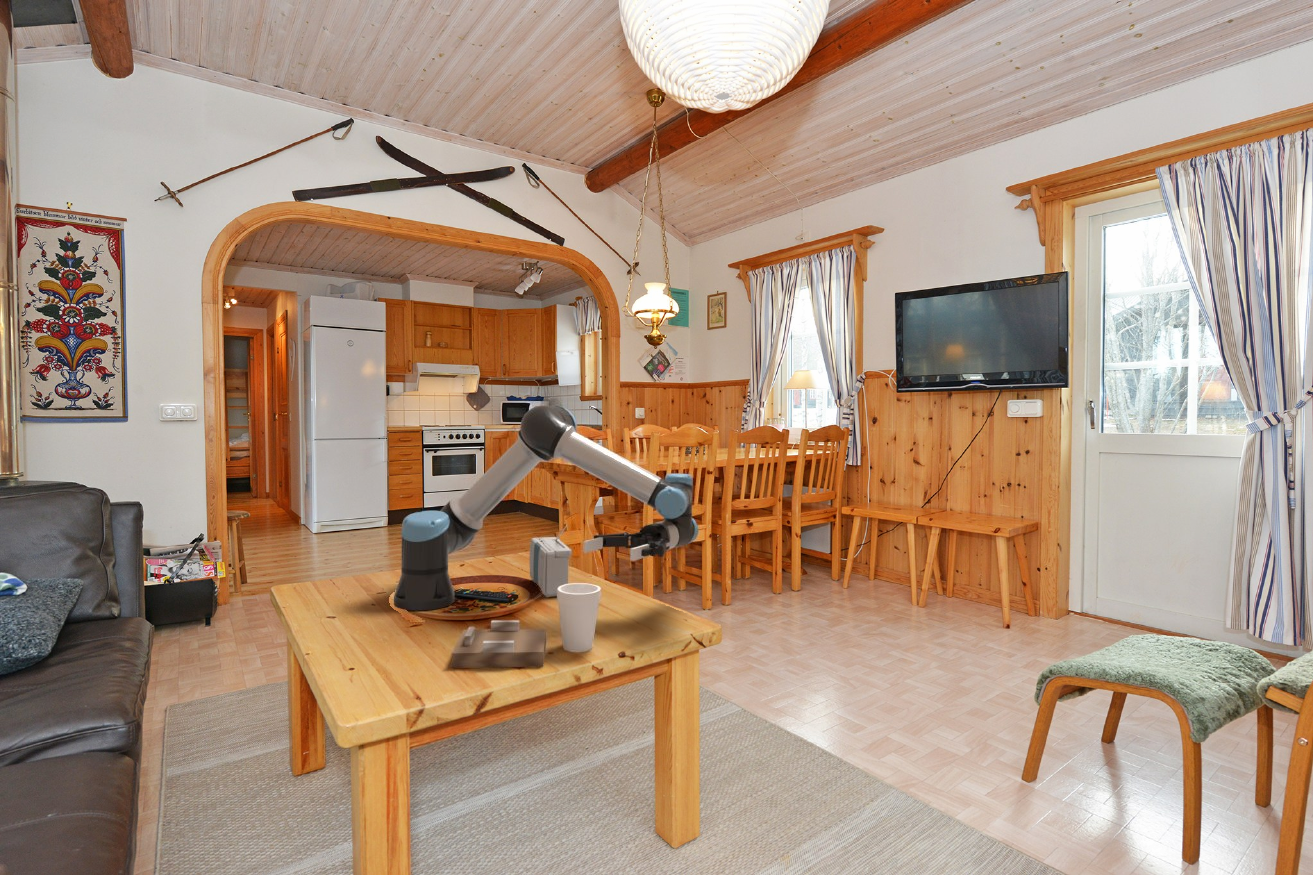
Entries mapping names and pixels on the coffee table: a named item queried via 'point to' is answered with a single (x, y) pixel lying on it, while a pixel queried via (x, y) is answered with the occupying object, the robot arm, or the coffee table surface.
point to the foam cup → (578, 615)
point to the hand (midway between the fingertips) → (607, 550)
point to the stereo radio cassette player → (549, 563)
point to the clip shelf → (500, 647)
